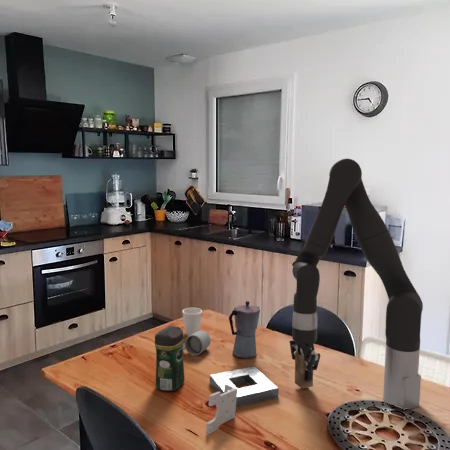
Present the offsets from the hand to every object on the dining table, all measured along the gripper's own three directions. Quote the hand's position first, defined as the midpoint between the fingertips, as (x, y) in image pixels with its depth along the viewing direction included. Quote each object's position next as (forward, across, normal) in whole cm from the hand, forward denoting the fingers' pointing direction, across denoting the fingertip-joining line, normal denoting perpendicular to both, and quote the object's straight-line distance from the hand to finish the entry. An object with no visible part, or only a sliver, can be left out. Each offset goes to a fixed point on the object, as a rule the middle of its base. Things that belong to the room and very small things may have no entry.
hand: (303, 377), depth 139 cm
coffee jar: (+4, +19, +38) cm, 42 cm away
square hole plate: (+3, +7, +18) cm, 19 cm away
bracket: (+4, -6, +32) cm, 33 cm away
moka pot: (+4, +30, +6) cm, 31 cm away
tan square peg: (+2, 0, 0) cm, 2 cm away
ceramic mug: (+4, +41, +22) cm, 46 cm away
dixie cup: (+3, +58, +16) cm, 60 cm away
